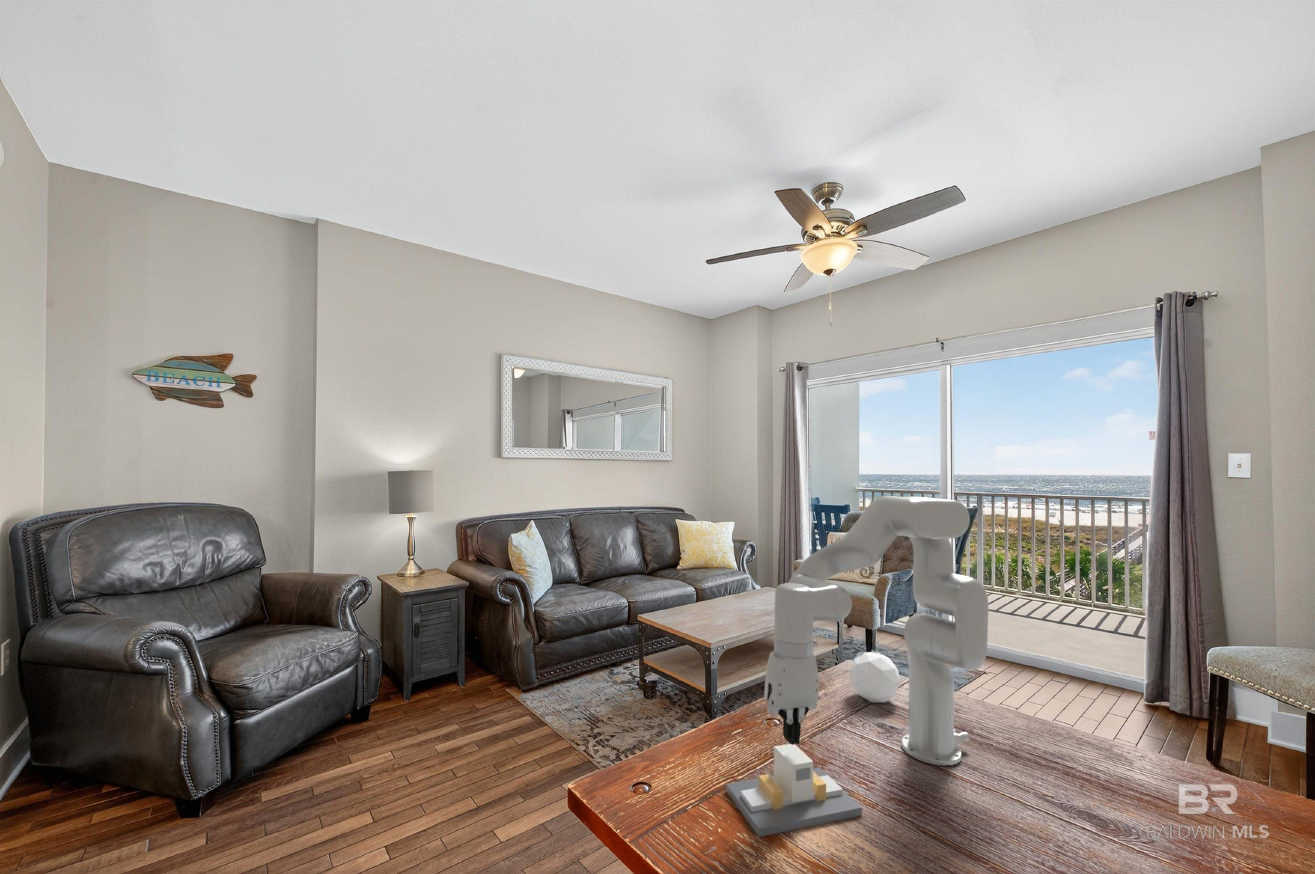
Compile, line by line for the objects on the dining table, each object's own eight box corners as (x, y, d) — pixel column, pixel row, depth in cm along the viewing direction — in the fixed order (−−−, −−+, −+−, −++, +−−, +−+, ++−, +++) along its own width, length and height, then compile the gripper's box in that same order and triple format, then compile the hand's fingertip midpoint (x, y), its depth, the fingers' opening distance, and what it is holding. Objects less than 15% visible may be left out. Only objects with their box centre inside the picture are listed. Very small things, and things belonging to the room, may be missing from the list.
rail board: (819, 774, 118) (819, 753, 118) (861, 815, 105) (861, 791, 105) (726, 791, 111) (726, 768, 112) (758, 836, 98) (759, 811, 98)
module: (793, 777, 112) (793, 743, 113) (813, 798, 105) (813, 762, 106) (773, 781, 111) (774, 746, 111) (792, 803, 104) (793, 765, 104)
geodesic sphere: (840, 685, 151) (872, 648, 150) (833, 667, 164) (862, 632, 163) (883, 721, 149) (916, 684, 148) (872, 700, 162) (902, 665, 161)
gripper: (814, 638, 115) (813, 727, 114) (750, 643, 111) (749, 736, 110) (836, 650, 108) (835, 745, 107) (769, 657, 103) (767, 755, 103)
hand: (791, 740), depth 108 cm, fingers closed
